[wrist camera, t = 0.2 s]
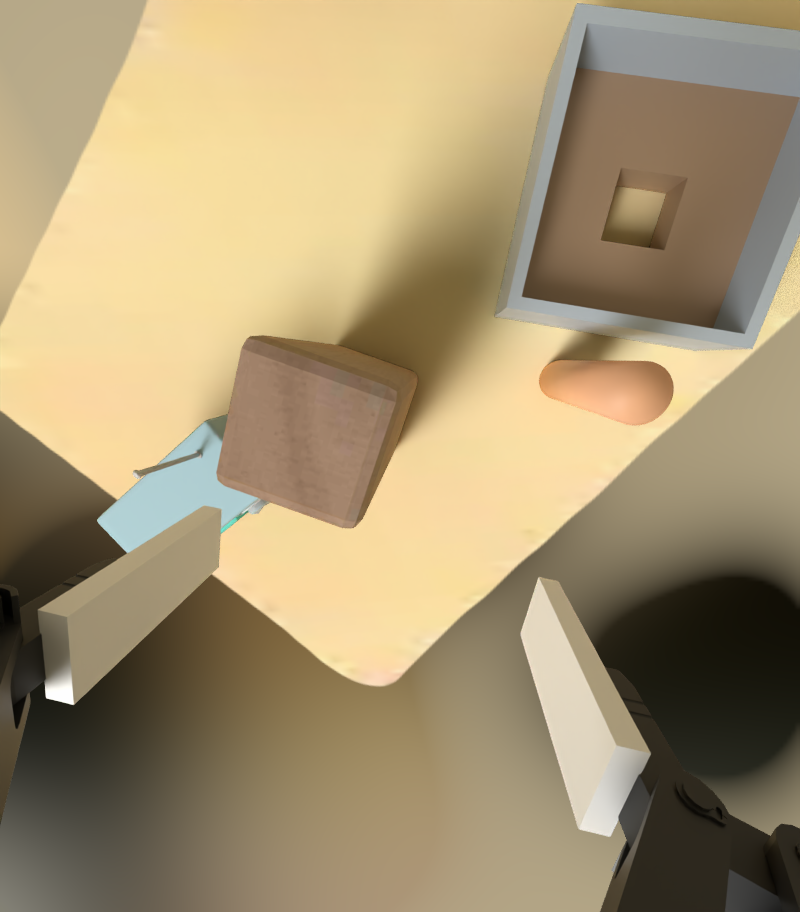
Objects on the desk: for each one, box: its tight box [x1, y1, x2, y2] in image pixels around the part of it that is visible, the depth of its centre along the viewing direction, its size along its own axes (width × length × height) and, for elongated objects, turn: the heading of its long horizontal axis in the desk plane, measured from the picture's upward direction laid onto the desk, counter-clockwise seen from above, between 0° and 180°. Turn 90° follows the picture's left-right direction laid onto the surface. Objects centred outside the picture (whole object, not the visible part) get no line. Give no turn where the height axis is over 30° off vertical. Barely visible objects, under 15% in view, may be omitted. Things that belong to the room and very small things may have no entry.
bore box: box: [494, 3, 800, 351], centre depth 31 cm, size 20×20×7 cm
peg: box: [539, 360, 673, 425], centre depth 31 cm, size 4×4×16 cm
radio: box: [97, 415, 270, 553], centre depth 35 cm, size 16×9×20 cm, turn 128°
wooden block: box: [216, 336, 418, 528], centre depth 32 cm, size 10×10×20 cm
